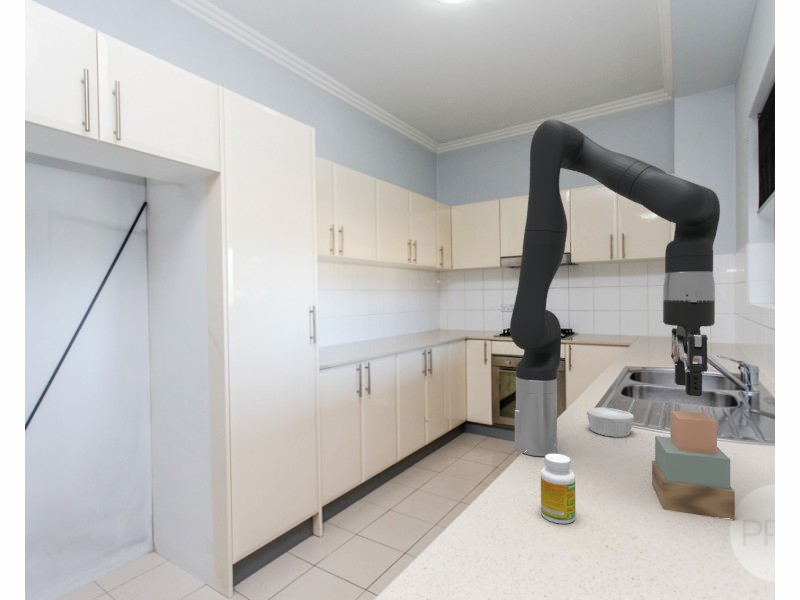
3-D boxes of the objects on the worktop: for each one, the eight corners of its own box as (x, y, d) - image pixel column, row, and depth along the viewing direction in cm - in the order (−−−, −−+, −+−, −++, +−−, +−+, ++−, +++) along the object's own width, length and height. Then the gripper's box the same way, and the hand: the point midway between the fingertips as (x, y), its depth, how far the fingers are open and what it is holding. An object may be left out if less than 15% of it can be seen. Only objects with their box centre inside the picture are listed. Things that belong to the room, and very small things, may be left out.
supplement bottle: (572, 528, 66) (572, 466, 66) (537, 518, 69) (537, 459, 69) (578, 513, 71) (577, 455, 71) (545, 504, 74) (544, 449, 74)
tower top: (666, 481, 72) (666, 452, 72) (655, 462, 81) (655, 435, 80) (730, 489, 69) (730, 459, 69) (711, 468, 77) (711, 441, 77)
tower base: (663, 511, 72) (663, 482, 72) (652, 486, 81) (652, 460, 81) (734, 522, 68) (734, 491, 68) (714, 495, 78) (714, 467, 78)
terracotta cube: (678, 450, 73) (678, 418, 73) (670, 440, 78) (670, 410, 78) (717, 454, 71) (717, 421, 71) (705, 443, 76) (705, 413, 76)
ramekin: (638, 431, 113) (638, 412, 113) (627, 442, 105) (627, 421, 105) (594, 423, 121) (594, 405, 121) (581, 433, 112) (581, 413, 112)
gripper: (656, 298, 82) (656, 380, 83) (671, 298, 69) (670, 397, 69) (702, 298, 79) (702, 383, 80) (727, 298, 66) (726, 401, 67)
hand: (687, 389), depth 75 cm, fingers open, 8 cm apart
